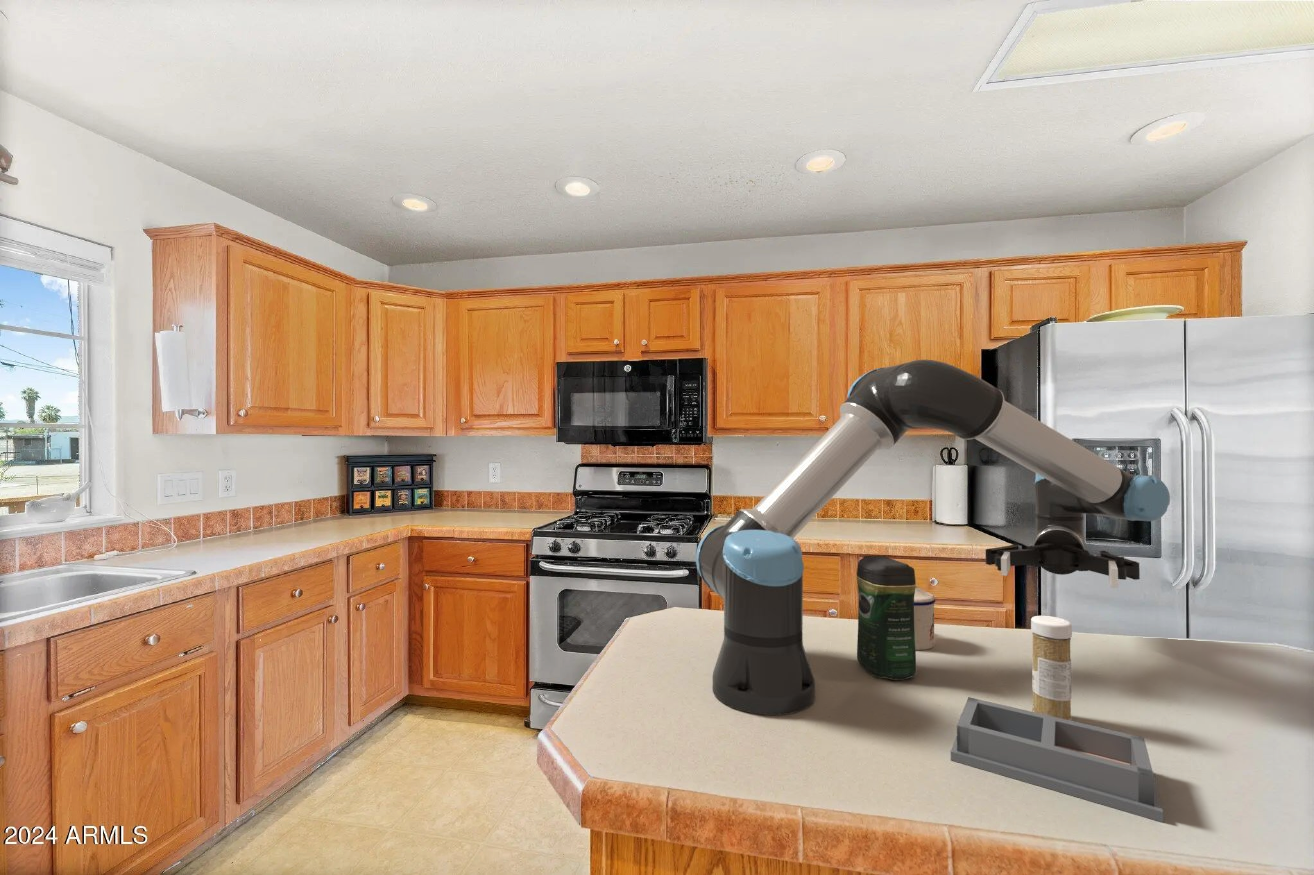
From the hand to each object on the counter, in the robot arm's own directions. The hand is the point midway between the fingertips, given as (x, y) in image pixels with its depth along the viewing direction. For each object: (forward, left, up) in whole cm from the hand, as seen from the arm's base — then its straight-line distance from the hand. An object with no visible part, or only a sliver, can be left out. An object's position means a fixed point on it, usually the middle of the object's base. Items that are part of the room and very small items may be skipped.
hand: (1056, 572), depth 85 cm
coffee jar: (-21, +12, -18) cm, 30 cm away
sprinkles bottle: (-8, -7, -18) cm, 21 cm away
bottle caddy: (-18, -17, -18) cm, 30 cm away
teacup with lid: (-9, +25, -18) cm, 32 cm away
